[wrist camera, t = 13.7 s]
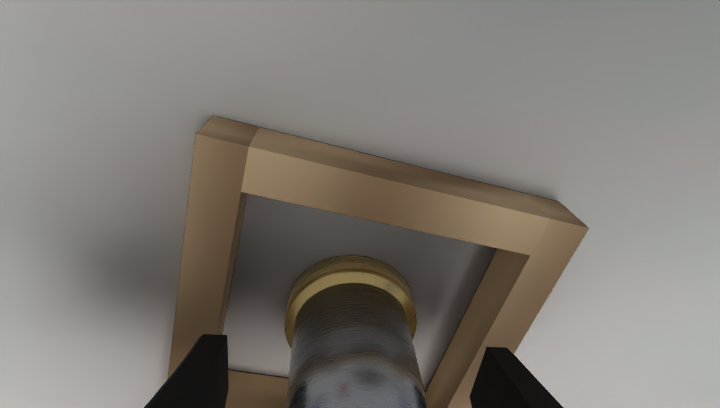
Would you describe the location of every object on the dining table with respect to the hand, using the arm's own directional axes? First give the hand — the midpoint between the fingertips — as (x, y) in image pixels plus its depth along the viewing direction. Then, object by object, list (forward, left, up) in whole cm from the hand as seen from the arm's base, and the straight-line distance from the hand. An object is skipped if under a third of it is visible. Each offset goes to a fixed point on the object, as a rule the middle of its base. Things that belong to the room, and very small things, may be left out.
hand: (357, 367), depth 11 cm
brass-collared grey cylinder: (0, 0, -3) cm, 3 cm away
